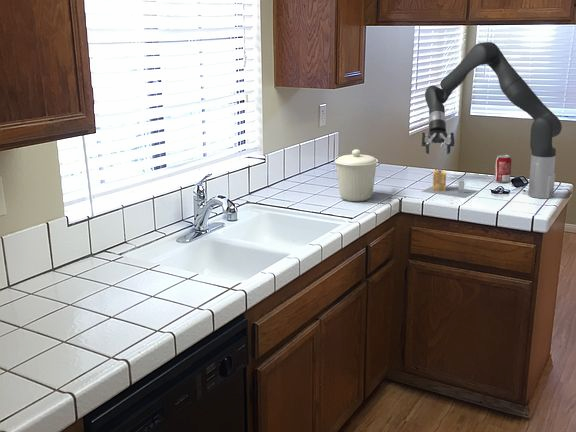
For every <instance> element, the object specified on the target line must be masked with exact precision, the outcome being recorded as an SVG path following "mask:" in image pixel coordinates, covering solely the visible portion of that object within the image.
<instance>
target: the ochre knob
mask: <svg viewBox="0 0 576 432" xmlns="http://www.w3.org/2000/svg"><path fill="white" fill-rule="evenodd" d="M432 175H433V176H432V186H433V191H445V189H446V186H447V171H446V170H445V169H442V170H441V169H439V170H438V169H435V170H433V171H432Z"/></svg>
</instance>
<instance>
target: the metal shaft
mask: <svg viewBox="0 0 576 432" xmlns="http://www.w3.org/2000/svg"><path fill="white" fill-rule="evenodd" d="M457 188H458V193H464V189H465V180H458V186H457Z"/></svg>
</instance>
